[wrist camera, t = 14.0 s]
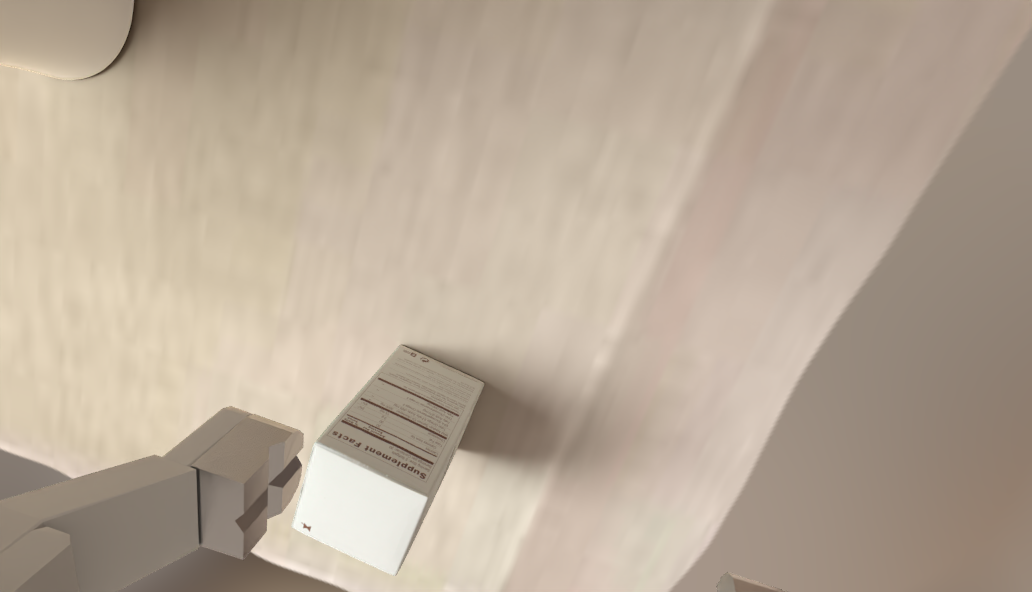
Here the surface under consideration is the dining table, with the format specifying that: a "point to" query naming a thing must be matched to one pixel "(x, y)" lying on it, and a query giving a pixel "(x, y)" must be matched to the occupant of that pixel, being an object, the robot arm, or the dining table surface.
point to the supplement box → (386, 459)
